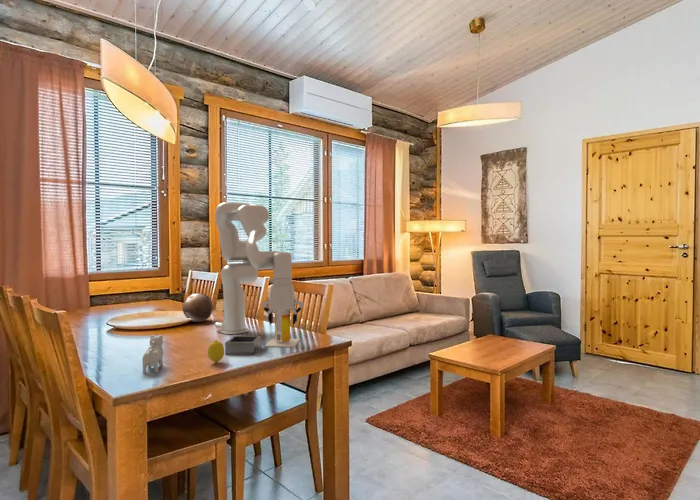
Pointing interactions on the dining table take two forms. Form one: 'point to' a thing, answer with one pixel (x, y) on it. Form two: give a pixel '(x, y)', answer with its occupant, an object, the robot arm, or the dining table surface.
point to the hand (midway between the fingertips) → (282, 323)
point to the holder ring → (243, 345)
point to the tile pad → (274, 344)
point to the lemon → (216, 351)
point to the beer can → (282, 326)
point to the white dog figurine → (154, 354)
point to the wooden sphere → (198, 307)
